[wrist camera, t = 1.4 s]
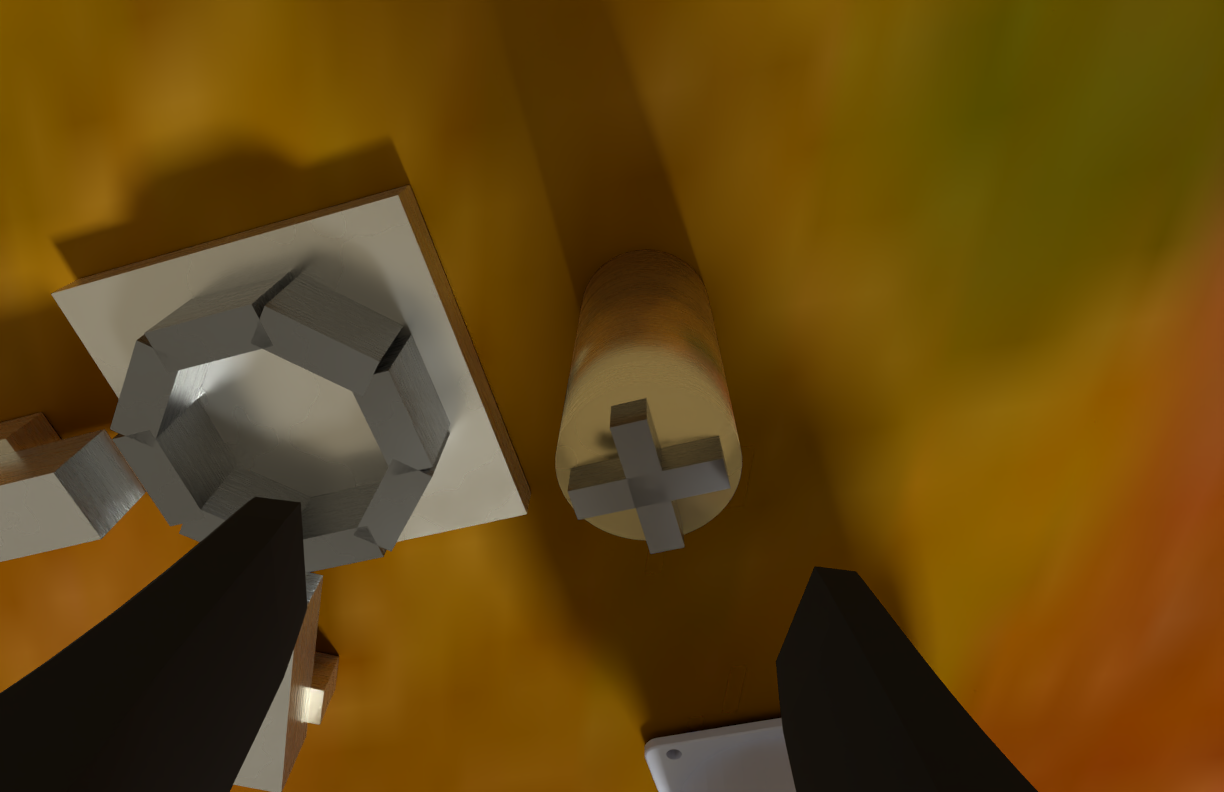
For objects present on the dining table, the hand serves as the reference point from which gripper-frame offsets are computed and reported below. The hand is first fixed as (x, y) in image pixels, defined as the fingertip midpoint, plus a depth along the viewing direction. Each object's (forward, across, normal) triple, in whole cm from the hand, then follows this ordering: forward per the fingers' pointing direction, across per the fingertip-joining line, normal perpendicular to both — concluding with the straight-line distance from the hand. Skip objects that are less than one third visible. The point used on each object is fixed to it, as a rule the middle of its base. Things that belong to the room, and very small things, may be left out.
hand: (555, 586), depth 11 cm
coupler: (+10, -2, 0) cm, 10 cm away
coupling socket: (+10, +7, +8) cm, 15 cm away
